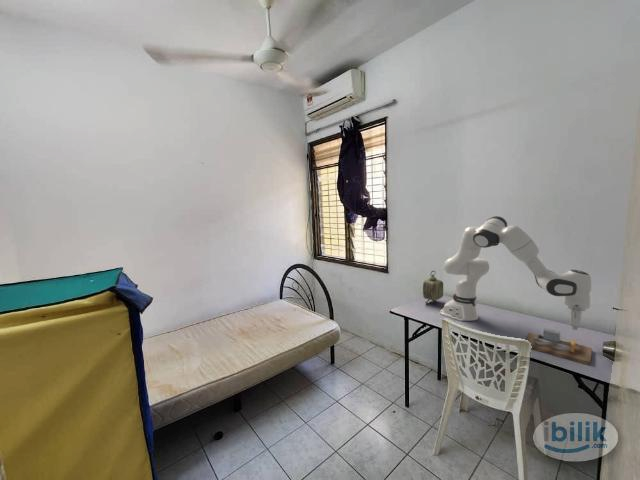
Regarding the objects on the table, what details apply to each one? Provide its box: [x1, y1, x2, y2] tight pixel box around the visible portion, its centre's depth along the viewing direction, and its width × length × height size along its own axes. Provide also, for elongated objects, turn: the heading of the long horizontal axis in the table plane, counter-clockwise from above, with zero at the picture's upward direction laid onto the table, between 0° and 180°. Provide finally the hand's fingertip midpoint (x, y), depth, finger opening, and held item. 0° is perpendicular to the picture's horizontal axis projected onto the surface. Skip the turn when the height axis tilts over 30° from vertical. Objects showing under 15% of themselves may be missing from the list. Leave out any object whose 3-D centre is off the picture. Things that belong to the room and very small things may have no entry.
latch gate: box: [570, 339, 576, 352], centre depth 126 cm, size 1×6×4 cm, turn 133°
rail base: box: [525, 332, 593, 366], centre depth 131 cm, size 24×16×4 cm, turn 43°
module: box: [542, 328, 561, 344], centre depth 132 cm, size 6×3×7 cm, turn 43°
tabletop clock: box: [422, 270, 444, 305], centre depth 198 cm, size 14×9×25 cm, turn 130°
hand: (574, 328), depth 132 cm, fingers closed
